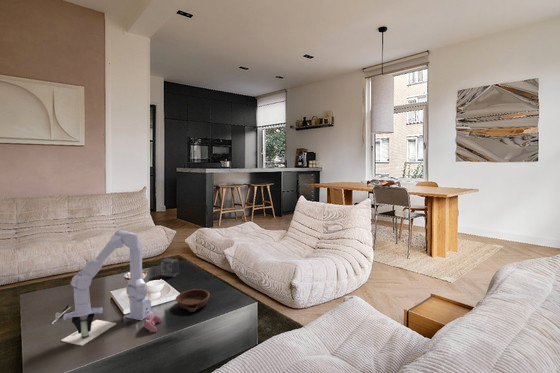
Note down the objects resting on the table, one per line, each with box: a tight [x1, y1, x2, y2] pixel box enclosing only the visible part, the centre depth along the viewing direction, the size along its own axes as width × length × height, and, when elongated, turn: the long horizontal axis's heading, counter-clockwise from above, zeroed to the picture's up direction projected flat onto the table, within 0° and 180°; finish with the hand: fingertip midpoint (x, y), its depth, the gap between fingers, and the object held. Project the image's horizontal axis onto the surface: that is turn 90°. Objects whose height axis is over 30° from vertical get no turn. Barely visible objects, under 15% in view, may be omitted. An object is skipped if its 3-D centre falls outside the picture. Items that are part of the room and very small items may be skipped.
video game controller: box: [143, 312, 163, 333], centre depth 147 cm, size 10×5×7 cm, turn 6°
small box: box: [159, 257, 180, 279], centre depth 211 cm, size 11×6×10 cm, turn 66°
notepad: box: [60, 319, 117, 347], centre depth 144 cm, size 12×18×1 cm, turn 162°
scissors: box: [50, 305, 73, 325], centre depth 161 cm, size 8×21×2 cm, turn 9°
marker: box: [80, 317, 89, 339], centre depth 139 cm, size 3×3×8 cm
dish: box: [175, 288, 211, 313], centre depth 169 cm, size 18×22×5 cm
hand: (84, 331), depth 139 cm, fingers closed on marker, 3 cm apart
